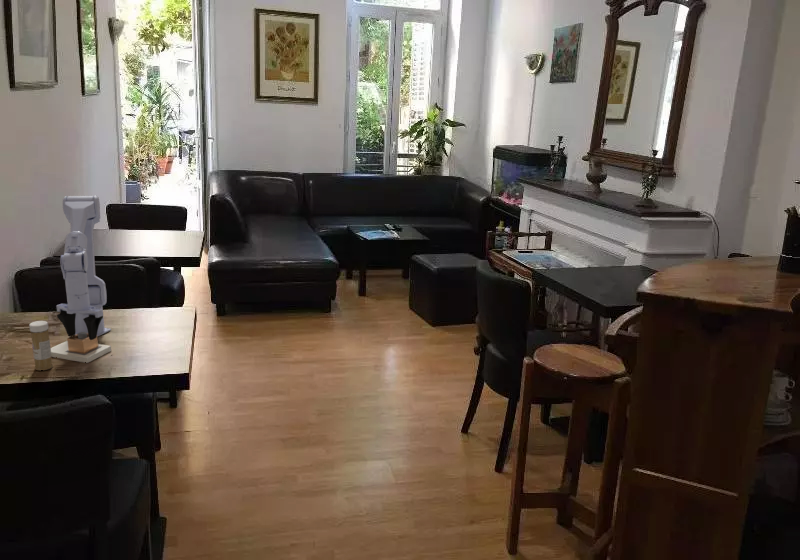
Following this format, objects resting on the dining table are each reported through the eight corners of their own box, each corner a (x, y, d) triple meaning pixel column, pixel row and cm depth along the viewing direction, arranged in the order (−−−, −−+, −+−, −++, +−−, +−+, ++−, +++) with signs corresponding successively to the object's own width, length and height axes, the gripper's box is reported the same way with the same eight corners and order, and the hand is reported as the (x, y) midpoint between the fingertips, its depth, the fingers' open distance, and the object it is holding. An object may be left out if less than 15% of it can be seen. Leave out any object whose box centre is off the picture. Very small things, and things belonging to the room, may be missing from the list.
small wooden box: (68, 351, 193) (67, 338, 192) (82, 344, 198) (81, 332, 197) (84, 353, 191) (82, 340, 190) (98, 347, 196) (96, 334, 195)
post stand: (45, 355, 193) (42, 334, 191) (70, 343, 202) (68, 324, 200) (87, 362, 189) (85, 341, 187) (111, 350, 198) (109, 330, 196)
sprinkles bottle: (32, 368, 184) (26, 322, 181) (49, 363, 188) (43, 319, 184) (39, 372, 182) (33, 327, 178) (56, 367, 185) (50, 322, 181)
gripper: (46, 293, 188) (51, 338, 192) (88, 299, 184) (93, 345, 188) (65, 287, 194) (70, 330, 198) (105, 293, 191) (110, 336, 194)
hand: (82, 337), depth 193 cm, fingers open, 7 cm apart
